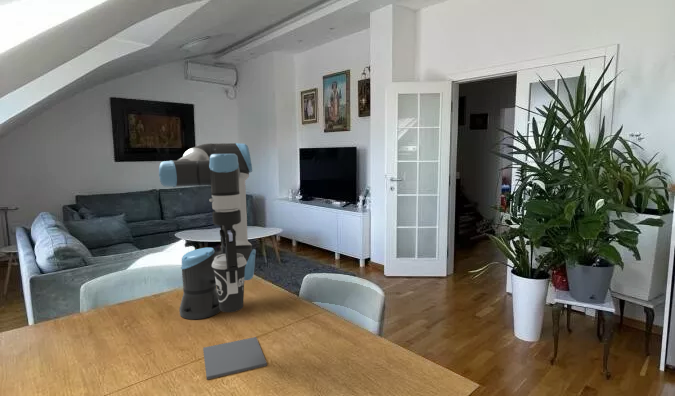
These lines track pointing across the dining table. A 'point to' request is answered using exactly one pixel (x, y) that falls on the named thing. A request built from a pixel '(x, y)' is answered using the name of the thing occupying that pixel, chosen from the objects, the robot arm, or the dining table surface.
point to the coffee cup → (226, 301)
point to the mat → (233, 357)
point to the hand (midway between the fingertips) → (230, 287)
